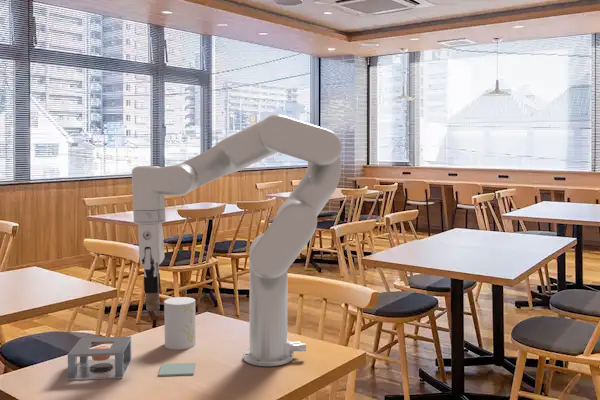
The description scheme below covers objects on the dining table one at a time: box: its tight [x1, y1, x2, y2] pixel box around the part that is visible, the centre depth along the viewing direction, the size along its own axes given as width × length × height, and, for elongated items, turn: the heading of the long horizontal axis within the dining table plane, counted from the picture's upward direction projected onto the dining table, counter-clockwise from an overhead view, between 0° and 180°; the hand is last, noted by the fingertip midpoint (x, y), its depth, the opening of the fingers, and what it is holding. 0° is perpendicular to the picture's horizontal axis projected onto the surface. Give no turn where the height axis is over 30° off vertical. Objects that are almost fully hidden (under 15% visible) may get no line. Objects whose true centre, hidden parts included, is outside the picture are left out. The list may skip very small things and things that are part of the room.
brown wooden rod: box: [145, 261, 161, 312], centre depth 146 cm, size 3×3×13 cm
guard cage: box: [67, 336, 133, 381], centre depth 141 cm, size 12×12×6 cm
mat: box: [158, 362, 196, 377], centre depth 142 cm, size 8×7×1 cm
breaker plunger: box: [91, 345, 111, 361], centre depth 141 cm, size 4×4×2 cm
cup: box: [163, 296, 197, 351], centre depth 160 cm, size 8×8×12 cm
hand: (152, 290), depth 146 cm, fingers closed on brown wooden rod, 3 cm apart
